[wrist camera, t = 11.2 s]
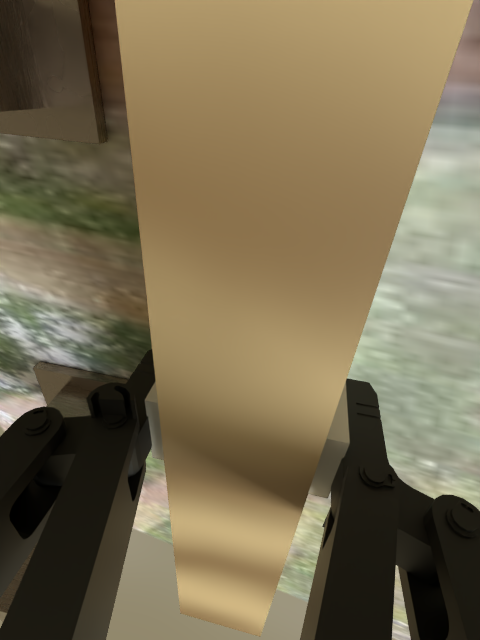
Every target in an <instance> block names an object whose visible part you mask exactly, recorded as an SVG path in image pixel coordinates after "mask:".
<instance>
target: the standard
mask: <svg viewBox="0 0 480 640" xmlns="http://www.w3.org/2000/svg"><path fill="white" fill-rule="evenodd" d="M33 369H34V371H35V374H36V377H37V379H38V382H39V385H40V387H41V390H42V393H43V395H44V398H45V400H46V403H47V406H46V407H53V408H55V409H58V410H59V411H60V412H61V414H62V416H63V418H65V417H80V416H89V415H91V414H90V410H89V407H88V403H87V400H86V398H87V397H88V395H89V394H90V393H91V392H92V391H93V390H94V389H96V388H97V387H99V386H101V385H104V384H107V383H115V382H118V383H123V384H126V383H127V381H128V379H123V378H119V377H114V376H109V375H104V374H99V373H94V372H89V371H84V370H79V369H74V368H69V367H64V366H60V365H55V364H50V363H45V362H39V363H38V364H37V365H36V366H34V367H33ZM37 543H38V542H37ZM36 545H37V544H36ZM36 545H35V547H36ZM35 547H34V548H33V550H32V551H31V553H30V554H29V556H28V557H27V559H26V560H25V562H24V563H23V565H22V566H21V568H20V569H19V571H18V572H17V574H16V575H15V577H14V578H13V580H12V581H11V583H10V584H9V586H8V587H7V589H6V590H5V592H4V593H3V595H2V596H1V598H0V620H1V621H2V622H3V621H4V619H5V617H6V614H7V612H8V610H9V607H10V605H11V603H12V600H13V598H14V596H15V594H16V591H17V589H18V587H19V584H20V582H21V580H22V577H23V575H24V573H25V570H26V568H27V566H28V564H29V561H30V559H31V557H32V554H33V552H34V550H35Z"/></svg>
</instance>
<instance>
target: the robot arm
mask: <svg viewBox="0 0 480 640" xmlns="http://www.w3.org/2000/svg"><path fill="white" fill-rule="evenodd" d="M86 400H87V403H88V407H89V410H90V414H91V415H89V416H80V417H65V418H63V416H62V414H61V412H60V411H59V410H58V409H55V408H53V407H40V408H35V409H33V410H30V411H28V412H26V413H24V414H23V415H22V416H21V417H19V418H18V419H17V420H16V421H15V422H14V423H13V424H12V425H11V426H10V427H9V428H8V429H7V430H6V431H5V432H4V433H3V434H2V436H1V437H0V598H1V596H2V595H3V593H4V592H5V590H6V589H7V587H8V586H9V584H10V583H11V581H12V580H13V578H14V577H15V575H16V574H17V572H18V571H19V569H20V568H21V566H22V565H23V563H24V562H25V560H26V559H27V557H28V556H29V554H30V553H31V551H32V550H33V548H34V547H35V545H36V544H37V545H36V547H35V550H34V552H33V554H32V557H31V559H30V561H29V564H28V566H27V568H26V570H25V573H24V575H23V577H22V580H21V582H20V584H19V587H18V589H17V591H16V594H15V596H14V598H13V600H12V603H11V605H10V607H9V610H8V612H7V614H6V617H5V619H4V621H3V624H2V626H1V628H0V640H106V637H107V633H108V628H109V624H110V620H111V616H112V611H113V607H114V603H115V599H116V595H117V590H118V586H119V582H120V578H121V573H122V569H123V565H124V561H125V557H126V552H127V548H128V544H129V540H130V535H131V531H132V527H133V523H134V518H135V514H136V510H137V506H138V502H139V497H140V493H141V489H142V485H143V480H144V476H145V472H146V461H145V460H146V458H147V456H148V454H149V452H150V450H152V457H153V458H156V459H161V460H164V454H163V445H162V435H161V426H160V417H159V407H158V398H157V389H156V379H155V370H154V361H153V352H152V349H151V350H149V351H148V352H147V353H146V354H145V356H144V357H143V359H142V360H141V363H139V365H138V366H137V368H136V369H135V372H133V374H132V375H131V377H130V378H129V380H128V381H127V383H126V384H123V383H118V382H115V383H107V384H104V385H101V386H99V387H97V388H96V389H94V390H93V391H92V392H91V393H90V394H89V395H88V397H87V398H86ZM380 418H381V416H380V410H379V404H378V398H377V394H376V392H375V391H374V389H373V388H372V386H371V385H370V383H368V382H363V381H358V380H352V379H346V382H345V385H344V388H343V391H342V394H341V397H340V400H339V403H338V406H337V409H336V412H335V415H334V418H333V421H332V424H331V427H330V430H329V433H328V436H327V439H326V442H325V445H324V448H323V451H322V454H321V457H320V460H319V463H318V466H317V469H316V472H315V475H314V477H313V480H312V483H311V486H310V489H309V492H308V494H311V495H315V496H319V497H324V498H328V496H329V494H330V491H331V508H330V510H329V512H328V515H327V517H326V519H325V522H324V524H323V526H322V527H324V528H325V529H324V533H323V538H322V542H321V547H320V551H319V556H318V560H317V565H316V569H315V574H314V579H313V583H312V588H311V592H310V597H309V601H308V606H307V610H306V615H305V619H304V624H303V628H302V633H301V638H300V640H392V623H393V604H394V585H395V566H396V565H397V566H398V568H399V574H400V580H401V585H402V591H403V597H404V602H405V608H406V614H407V619H408V625H409V631H410V636H411V640H480V511H479V510H478V509H477V508H476V507H475V506H474V505H472V504H471V503H469V502H468V501H466V500H465V499H463V498H460V497H457V496H454V495H441V496H439V497H438V498H436V499H433V498H431V497H429V496H427V495H425V494H423V493H421V492H419V491H417V490H415V489H413V488H412V487H410V486H409V485H407V484H405V483H404V482H403V481H402V480H401V479H400V478H398V476H397V474H396V473H395V471H394V469H393V468H392V467H391V466H390V465H389V462H388V458H387V453H386V447H385V441H384V435H383V429H382V422H381V420H380ZM37 542H38V543H37Z"/></svg>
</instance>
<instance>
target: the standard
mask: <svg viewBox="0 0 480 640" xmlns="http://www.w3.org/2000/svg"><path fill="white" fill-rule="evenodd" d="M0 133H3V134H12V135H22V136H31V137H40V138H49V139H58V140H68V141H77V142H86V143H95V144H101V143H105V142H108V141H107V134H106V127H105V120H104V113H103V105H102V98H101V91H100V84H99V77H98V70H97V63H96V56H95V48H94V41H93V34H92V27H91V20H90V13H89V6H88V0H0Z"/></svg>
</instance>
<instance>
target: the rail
mask: <svg viewBox="0 0 480 640" xmlns="http://www.w3.org/2000/svg"><path fill="white" fill-rule="evenodd" d="M472 3H473V0H115V8H116V17H117V26H118V36H119V45H120V54H121V63H122V73H123V82H124V91H125V101H126V110H127V119H128V128H129V138H130V147H131V156H132V166H133V175H134V184H135V194H136V203H137V212H138V221H139V231H140V240H141V249H142V259H143V268H144V277H145V287H146V296H147V305H148V314H149V324H150V333H151V342H152V352H153V361H154V370H155V379H156V389H157V398H158V407H159V417H160V426H161V435H162V445H163V454H164V463H165V472H166V482H167V491H168V500H169V510H170V519H171V528H172V538H173V547H174V556H175V565H176V575H177V584H178V593H179V603H180V611H181V614H185V615H188V616H191V617H195V618H198V619H201V620H205V621H208V622H212V623H215V624H219V625H222V626H225V627H229V628H232V629H236V630H239V631H243V632H246V633H249V634H253V635H256V636H259V637H260V636H261V633H262V630H263V626H264V624H265V621H266V618H267V615H268V612H269V609H270V605H271V603H272V600H273V597H274V594H275V591H276V588H277V585H278V582H279V579H280V576H281V573H282V570H283V567H284V564H285V561H286V558H287V555H288V552H289V549H290V546H291V543H292V540H293V537H294V534H295V531H296V528H297V525H298V522H299V519H300V516H301V513H302V510H303V507H304V504H305V501H306V498H307V495H308V492H309V489H310V486H311V483H312V480H313V477H314V475H315V472H316V469H317V466H318V463H319V460H320V457H321V454H322V451H323V448H324V445H325V442H326V439H327V436H328V433H329V430H330V427H331V424H332V421H333V418H334V415H335V412H336V409H337V406H338V403H339V400H340V397H341V394H342V391H343V388H344V385H345V382H346V379H347V376H348V373H349V370H350V367H351V364H352V361H353V358H354V355H355V352H356V349H357V346H358V343H359V340H360V337H361V334H362V331H363V328H364V325H365V322H366V319H367V316H368V313H369V310H370V307H371V304H372V301H373V298H374V295H375V292H376V289H377V286H378V283H379V280H380V277H381V274H382V271H383V268H384V265H385V262H386V259H387V256H388V254H389V251H390V248H391V245H392V242H393V239H394V236H395V233H396V230H397V227H398V224H399V221H400V218H401V215H402V212H403V209H404V206H405V203H406V200H407V197H408V194H409V191H410V188H411V185H412V182H413V179H414V176H415V173H416V170H417V167H418V164H419V161H420V158H421V155H422V152H423V149H424V146H425V143H426V140H427V137H428V134H429V131H430V128H431V125H432V122H433V119H434V116H435V113H436V110H437V107H438V104H439V101H440V98H441V95H442V92H443V89H444V86H445V83H446V80H447V77H448V74H449V71H450V68H451V65H452V62H453V59H454V56H455V53H456V50H457V47H458V44H459V41H460V38H461V36H462V33H463V30H464V27H465V24H466V21H467V18H468V15H469V12H470V9H471V6H472Z"/></svg>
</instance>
